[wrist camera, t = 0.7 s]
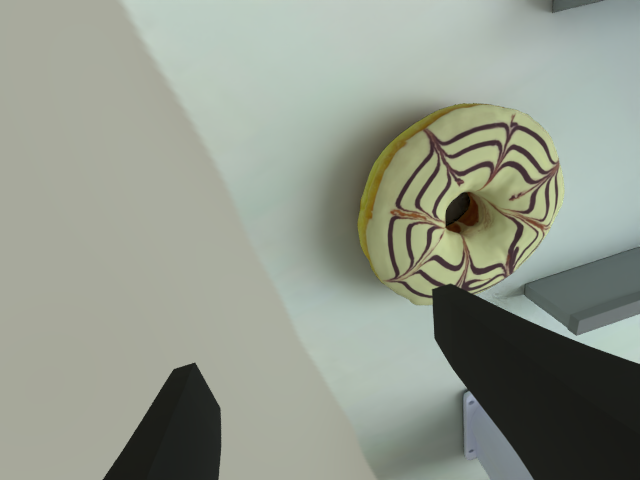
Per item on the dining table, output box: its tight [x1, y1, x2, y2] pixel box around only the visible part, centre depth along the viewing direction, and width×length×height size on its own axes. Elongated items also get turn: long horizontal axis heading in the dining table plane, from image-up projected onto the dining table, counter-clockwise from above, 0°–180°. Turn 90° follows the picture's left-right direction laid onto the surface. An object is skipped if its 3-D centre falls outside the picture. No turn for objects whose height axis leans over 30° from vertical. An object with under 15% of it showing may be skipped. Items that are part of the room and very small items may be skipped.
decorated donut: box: [357, 103, 564, 305], centre depth 17 cm, size 10×11×4 cm
